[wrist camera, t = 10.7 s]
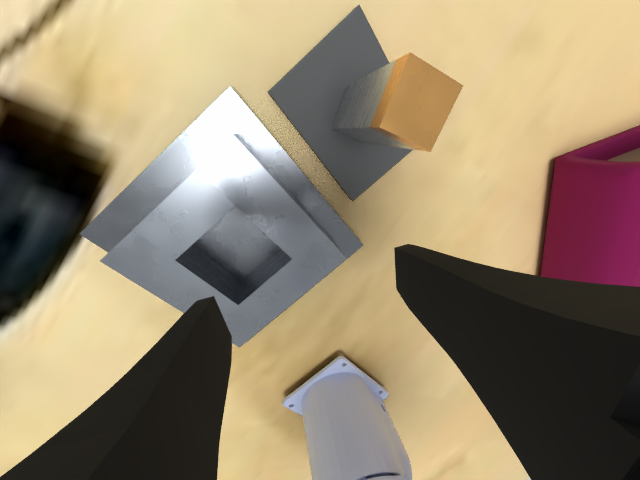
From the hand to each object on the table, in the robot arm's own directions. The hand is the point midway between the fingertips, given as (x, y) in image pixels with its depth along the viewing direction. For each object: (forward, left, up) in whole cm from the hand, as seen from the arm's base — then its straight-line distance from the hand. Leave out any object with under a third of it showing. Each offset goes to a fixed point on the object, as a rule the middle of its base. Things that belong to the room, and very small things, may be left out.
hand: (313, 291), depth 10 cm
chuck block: (+1, +4, -10) cm, 11 cm away
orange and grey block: (+2, -8, -9) cm, 12 cm away
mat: (+2, -8, -10) cm, 13 cm away
